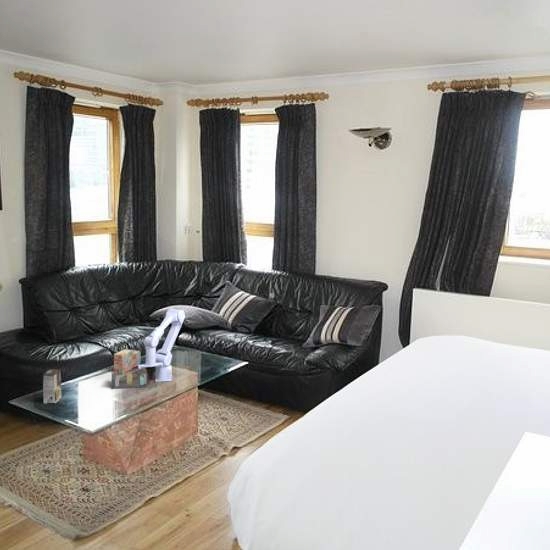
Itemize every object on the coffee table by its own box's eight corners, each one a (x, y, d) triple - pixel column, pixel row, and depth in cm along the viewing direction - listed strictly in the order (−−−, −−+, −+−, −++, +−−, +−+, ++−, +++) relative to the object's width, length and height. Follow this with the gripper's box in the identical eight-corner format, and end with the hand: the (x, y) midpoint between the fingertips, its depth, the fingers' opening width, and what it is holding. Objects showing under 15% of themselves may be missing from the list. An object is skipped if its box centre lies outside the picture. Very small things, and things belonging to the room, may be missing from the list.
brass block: (132, 380, 350) (132, 373, 350) (132, 384, 344) (132, 377, 343) (126, 381, 350) (126, 373, 349) (126, 385, 343) (126, 377, 342)
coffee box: (50, 397, 322) (49, 368, 319) (61, 398, 322) (61, 369, 319) (43, 403, 313) (42, 374, 310) (55, 404, 313) (54, 374, 310)
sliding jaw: (146, 379, 353) (146, 370, 353) (146, 384, 344) (146, 376, 343) (140, 379, 353) (140, 371, 352) (140, 385, 343) (140, 376, 342)
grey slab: (146, 380, 355) (146, 371, 354) (147, 387, 343) (147, 378, 342) (112, 382, 350) (112, 373, 349) (111, 388, 338) (111, 379, 338)
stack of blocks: (132, 363, 387) (132, 345, 385) (140, 365, 385) (141, 346, 383) (113, 373, 367) (113, 353, 365) (122, 374, 365) (122, 355, 363)
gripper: (160, 353, 354) (160, 375, 356) (136, 356, 347) (136, 378, 349) (164, 356, 348) (164, 379, 350) (139, 359, 341) (139, 382, 343)
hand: (150, 379), depth 349 cm, fingers closed
